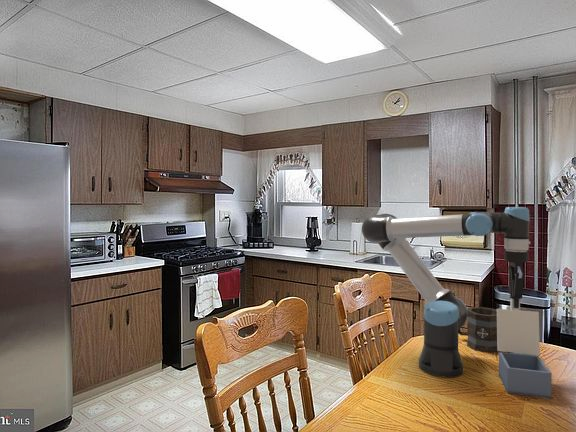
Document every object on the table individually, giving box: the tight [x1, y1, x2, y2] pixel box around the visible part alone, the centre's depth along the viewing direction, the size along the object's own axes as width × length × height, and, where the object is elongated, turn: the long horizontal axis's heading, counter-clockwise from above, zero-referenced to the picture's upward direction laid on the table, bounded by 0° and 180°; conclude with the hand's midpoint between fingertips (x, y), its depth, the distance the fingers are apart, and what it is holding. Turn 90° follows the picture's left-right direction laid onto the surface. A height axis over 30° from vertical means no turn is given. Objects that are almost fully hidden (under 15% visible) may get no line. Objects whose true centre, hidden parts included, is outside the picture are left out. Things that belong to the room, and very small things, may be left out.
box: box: [497, 351, 553, 400], centre depth 129 cm, size 12×14×8 cm
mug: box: [458, 306, 502, 354], centre depth 166 cm, size 20×14×15 cm
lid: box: [496, 308, 541, 356], centre depth 136 cm, size 13×14×1 cm
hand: (514, 316), depth 140 cm, fingers closed
